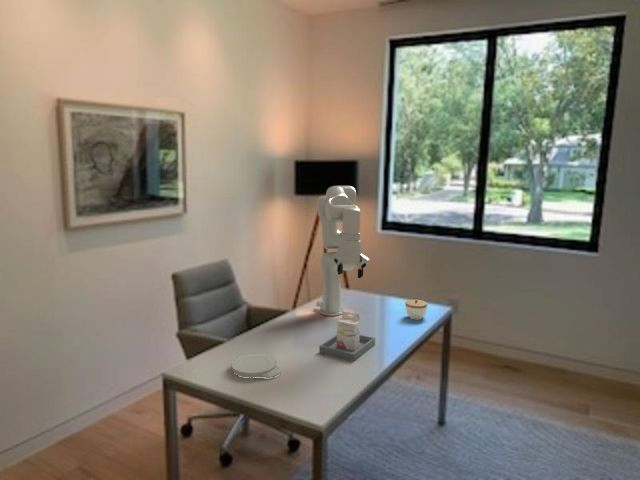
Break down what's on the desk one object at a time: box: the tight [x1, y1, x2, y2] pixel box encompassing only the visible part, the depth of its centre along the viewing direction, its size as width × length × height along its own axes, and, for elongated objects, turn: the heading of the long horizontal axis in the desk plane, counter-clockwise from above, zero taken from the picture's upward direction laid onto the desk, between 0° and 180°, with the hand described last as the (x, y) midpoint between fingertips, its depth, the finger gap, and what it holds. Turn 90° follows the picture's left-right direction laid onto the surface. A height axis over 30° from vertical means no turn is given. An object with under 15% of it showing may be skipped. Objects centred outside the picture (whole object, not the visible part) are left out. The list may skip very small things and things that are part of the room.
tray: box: [318, 333, 376, 362], centre depth 204 cm, size 16×20×3 cm
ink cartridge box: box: [336, 310, 361, 351], centre depth 203 cm, size 9×5×15 cm, turn 63°
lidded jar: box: [404, 299, 428, 321], centre depth 242 cm, size 11×11×9 cm
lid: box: [230, 353, 282, 378], centre depth 184 cm, size 17×20×3 cm
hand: (350, 275), depth 208 cm, fingers open, 9 cm apart
